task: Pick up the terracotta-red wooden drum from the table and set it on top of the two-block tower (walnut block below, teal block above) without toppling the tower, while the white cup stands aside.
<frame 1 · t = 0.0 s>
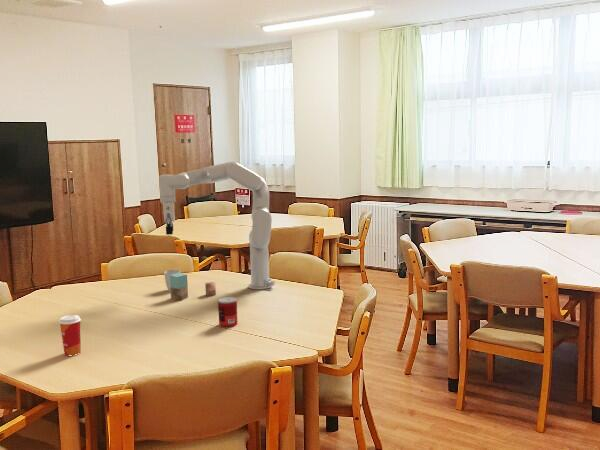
hand: (169, 232, 306), 31 cm above the table, tool pointing down, fingers open, 9 cm apart
drum: (210, 294, 305), on the table
paper cup: (72, 354, 226), on the table
cup: (173, 290, 316), on the table
canned food: (228, 324, 257), on the table
tower bottom: (179, 298, 300), on the table, touching tower top
tower top: (179, 286, 299), point 6 cm above the table, touching tower bottom
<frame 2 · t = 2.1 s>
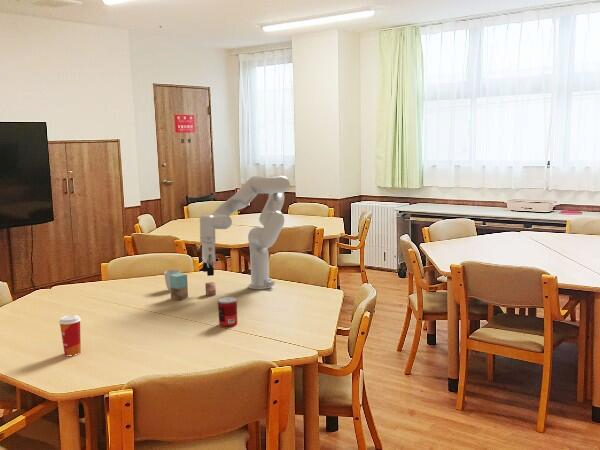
hand: (208, 273, 303), 11 cm above the table, tool pointing down, fingers open, 9 cm apart
nothing on the table moved.
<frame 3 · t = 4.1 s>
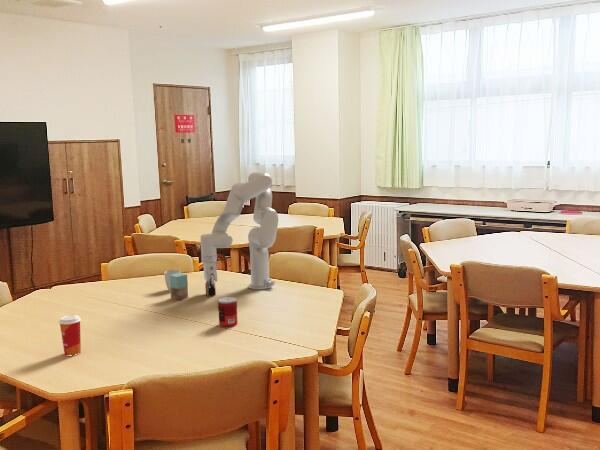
hand: (210, 293, 305), 1 cm above the table, tool pointing down, fingers closed on drum, 5 cm apart
drum: (210, 294, 305), on the table, touching gripper
everything else where it was.
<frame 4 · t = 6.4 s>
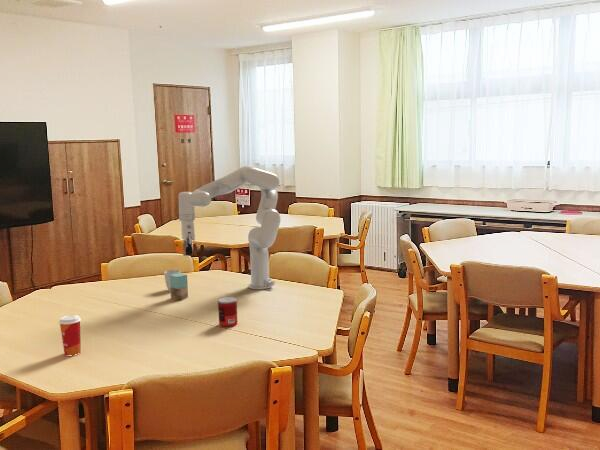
hand: (188, 253, 298), 22 cm above the table, tool pointing down, fingers closed on drum, 5 cm apart
drum: (188, 254, 298), point 22 cm above the table, touching gripper
everything else where it was.
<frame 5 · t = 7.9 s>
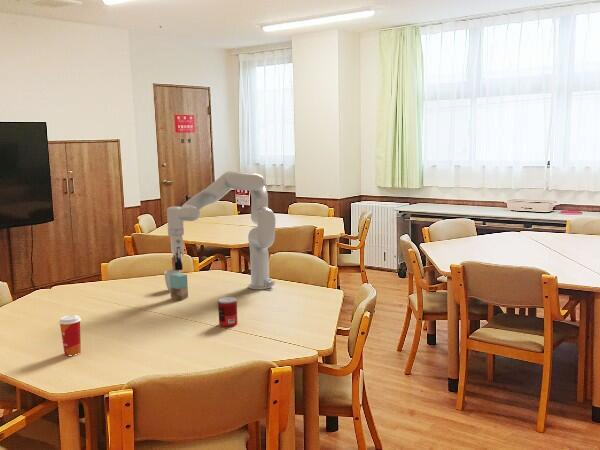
hand: (177, 268, 297), 15 cm above the table, tool pointing down, fingers closed on drum, 5 cm apart
drum: (177, 269, 297), point 15 cm above the table, touching gripper
everything else where it was.
when the fingers open (14 cm above the table, at t = 9.0 s): drum drops 1 cm, resting on tower top.
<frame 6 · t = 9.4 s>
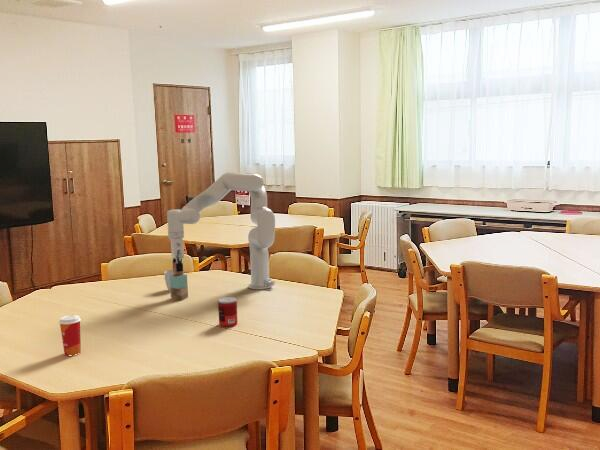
hand: (178, 269, 297), 15 cm above the table, tool pointing down, fingers open, 9 cm apart
drum: (178, 274, 298), point 12 cm above the table, touching tower top
tower top: (178, 286, 299), point 6 cm above the table, touching drum, tower bottom
everything else where it was.
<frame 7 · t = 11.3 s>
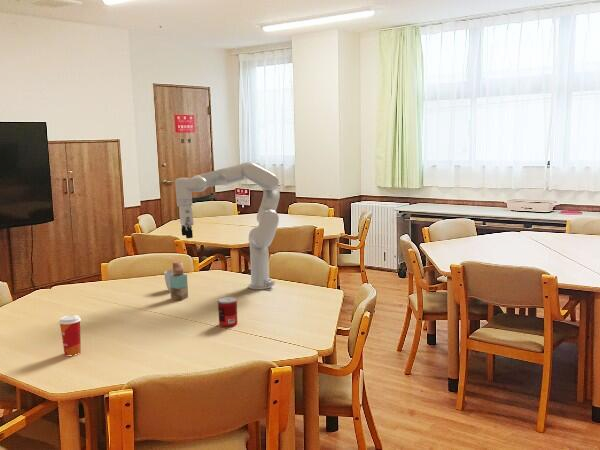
hand: (187, 236, 303), 30 cm above the table, tool pointing down, fingers open, 9 cm apart
nothing on the table moved.
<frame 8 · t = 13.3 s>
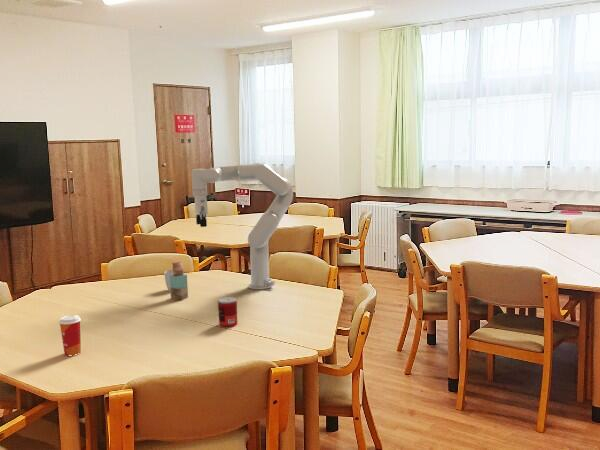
hand: (201, 225, 314), 33 cm above the table, tool pointing down, fingers open, 9 cm apart
tower bottom: (179, 298, 300), on the table
tower top: (178, 286, 299), point 6 cm above the table, touching drum
everything else where it was.
at the end: drum 0.0 cm off-centre on the tower top, point 6.0 cm above the tower top's base; tower top tilted 0°; drum tilted 0° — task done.
